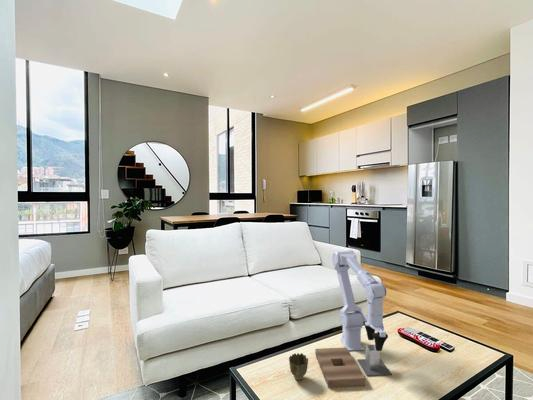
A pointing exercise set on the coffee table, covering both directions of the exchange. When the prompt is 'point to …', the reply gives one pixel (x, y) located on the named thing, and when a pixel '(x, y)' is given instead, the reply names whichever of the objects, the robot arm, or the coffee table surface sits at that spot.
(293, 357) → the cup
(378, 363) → the plug
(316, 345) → the coffee table surface
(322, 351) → the brown wooden socket board
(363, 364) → the mat
